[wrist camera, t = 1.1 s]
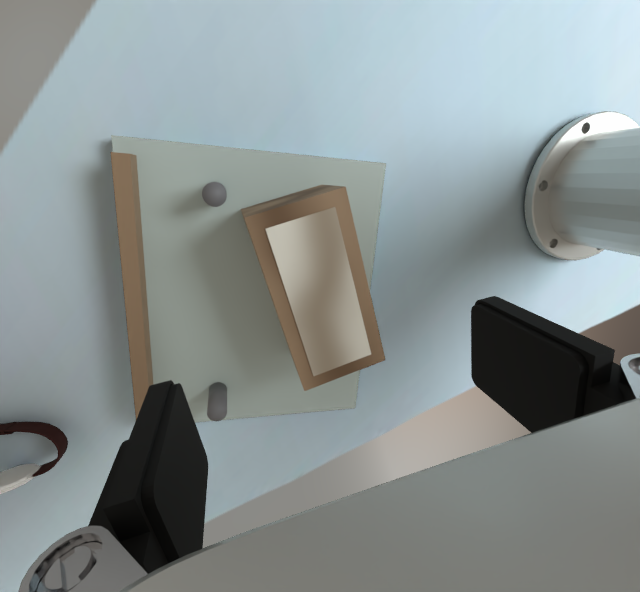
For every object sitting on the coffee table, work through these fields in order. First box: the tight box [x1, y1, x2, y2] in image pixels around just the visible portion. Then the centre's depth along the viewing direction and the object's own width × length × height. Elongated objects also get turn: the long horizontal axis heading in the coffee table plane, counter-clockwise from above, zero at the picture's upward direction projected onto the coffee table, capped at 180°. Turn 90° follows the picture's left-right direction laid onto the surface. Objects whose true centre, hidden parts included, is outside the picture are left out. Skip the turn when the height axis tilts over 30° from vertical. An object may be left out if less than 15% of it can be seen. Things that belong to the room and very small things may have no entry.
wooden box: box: [241, 185, 385, 391], centre depth 24 cm, size 6×12×6 cm, turn 15°
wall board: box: [111, 135, 386, 422], centre depth 26 cm, size 18×21×4 cm
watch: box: [0, 422, 68, 494], centre depth 25 cm, size 8×5×4 cm, turn 95°
